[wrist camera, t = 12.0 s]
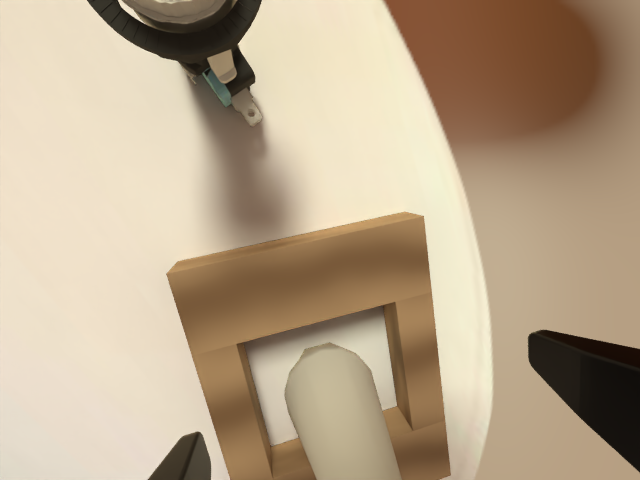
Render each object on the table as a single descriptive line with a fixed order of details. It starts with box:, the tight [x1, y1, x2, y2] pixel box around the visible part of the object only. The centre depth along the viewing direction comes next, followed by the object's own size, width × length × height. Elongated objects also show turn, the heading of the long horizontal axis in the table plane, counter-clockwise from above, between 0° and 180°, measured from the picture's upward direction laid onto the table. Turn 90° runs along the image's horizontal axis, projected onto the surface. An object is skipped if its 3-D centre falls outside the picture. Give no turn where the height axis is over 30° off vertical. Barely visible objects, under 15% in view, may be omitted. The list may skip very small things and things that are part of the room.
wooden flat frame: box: [167, 212, 451, 480], centre depth 21 cm, size 20×15×2 cm
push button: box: [87, 0, 262, 127], centre depth 13 cm, size 7×5×10 cm
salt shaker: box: [285, 342, 402, 480], centre depth 16 cm, size 6×6×13 cm
